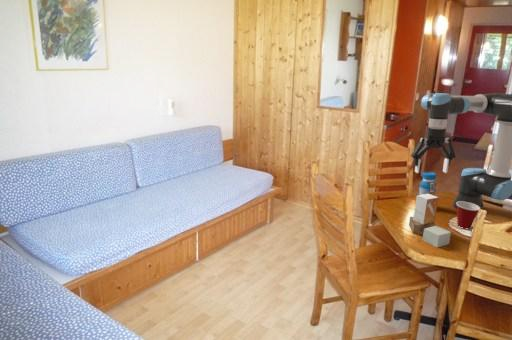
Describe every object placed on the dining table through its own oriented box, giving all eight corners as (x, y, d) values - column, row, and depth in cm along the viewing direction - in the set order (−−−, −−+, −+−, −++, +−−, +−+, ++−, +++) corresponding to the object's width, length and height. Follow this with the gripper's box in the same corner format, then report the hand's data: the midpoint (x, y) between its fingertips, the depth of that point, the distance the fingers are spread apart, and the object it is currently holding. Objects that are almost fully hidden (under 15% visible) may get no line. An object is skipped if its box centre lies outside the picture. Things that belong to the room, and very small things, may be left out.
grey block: (434, 237, 182) (435, 225, 181) (449, 244, 176) (451, 232, 174) (422, 240, 179) (424, 228, 177) (437, 247, 172) (438, 235, 170)
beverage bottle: (416, 208, 218) (421, 174, 213) (417, 203, 226) (421, 170, 220) (433, 210, 215) (438, 176, 209) (432, 205, 222) (437, 172, 217)
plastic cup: (476, 233, 186) (480, 210, 183) (451, 228, 192) (455, 205, 189) (477, 225, 195) (481, 203, 192) (453, 221, 201) (457, 199, 198)
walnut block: (429, 227, 194) (431, 218, 192) (434, 236, 184) (436, 226, 183) (408, 225, 196) (410, 216, 194) (412, 234, 186) (414, 224, 185)
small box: (423, 225, 184) (427, 199, 180) (412, 220, 189) (416, 195, 186) (434, 222, 188) (439, 197, 184) (424, 217, 193) (427, 193, 189)
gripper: (414, 129, 172) (408, 174, 177) (468, 129, 173) (461, 174, 179) (406, 126, 179) (401, 170, 185) (459, 126, 180) (452, 170, 186)
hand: (430, 172), depth 182 cm, fingers open, 13 cm apart
